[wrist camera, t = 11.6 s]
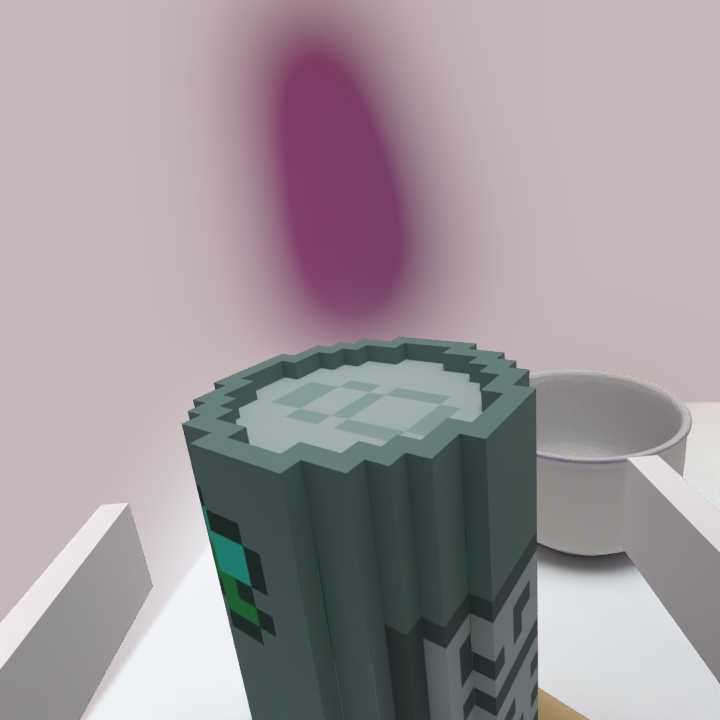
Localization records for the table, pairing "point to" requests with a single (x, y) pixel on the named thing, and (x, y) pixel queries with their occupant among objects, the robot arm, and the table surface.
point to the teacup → (597, 452)
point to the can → (376, 530)
